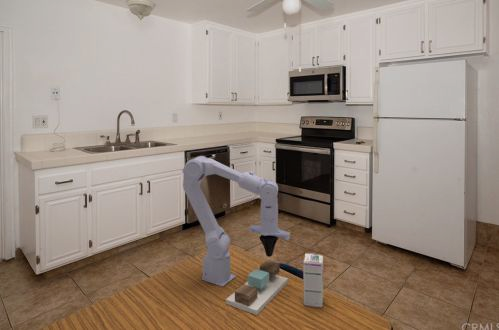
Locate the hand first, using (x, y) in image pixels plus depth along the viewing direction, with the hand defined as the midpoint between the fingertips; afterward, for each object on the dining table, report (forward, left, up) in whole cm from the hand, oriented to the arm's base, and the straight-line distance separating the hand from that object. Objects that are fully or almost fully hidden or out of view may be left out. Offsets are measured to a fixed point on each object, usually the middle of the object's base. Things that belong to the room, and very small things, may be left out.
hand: (269, 255), depth 109 cm
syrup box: (+17, -3, -10) cm, 20 cm away
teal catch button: (0, -7, -7) cm, 10 cm away
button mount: (0, -7, -10) cm, 12 cm away
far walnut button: (0, 0, -7) cm, 7 cm away
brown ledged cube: (0, -15, -8) cm, 17 cm away
